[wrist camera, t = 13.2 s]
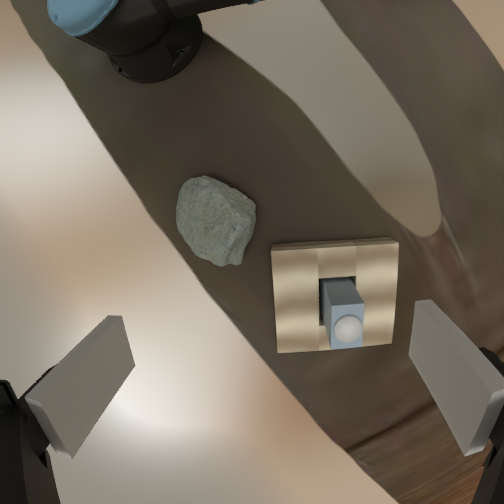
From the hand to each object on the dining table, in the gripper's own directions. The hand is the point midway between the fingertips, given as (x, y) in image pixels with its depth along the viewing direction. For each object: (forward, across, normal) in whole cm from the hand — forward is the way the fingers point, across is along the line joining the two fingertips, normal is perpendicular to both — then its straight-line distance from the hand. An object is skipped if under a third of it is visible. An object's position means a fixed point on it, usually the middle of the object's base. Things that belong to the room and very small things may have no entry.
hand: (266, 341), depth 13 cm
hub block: (+35, +8, -12) cm, 38 cm away
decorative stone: (+35, -8, +1) cm, 36 cm away
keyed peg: (+35, +8, -12) cm, 38 cm away
